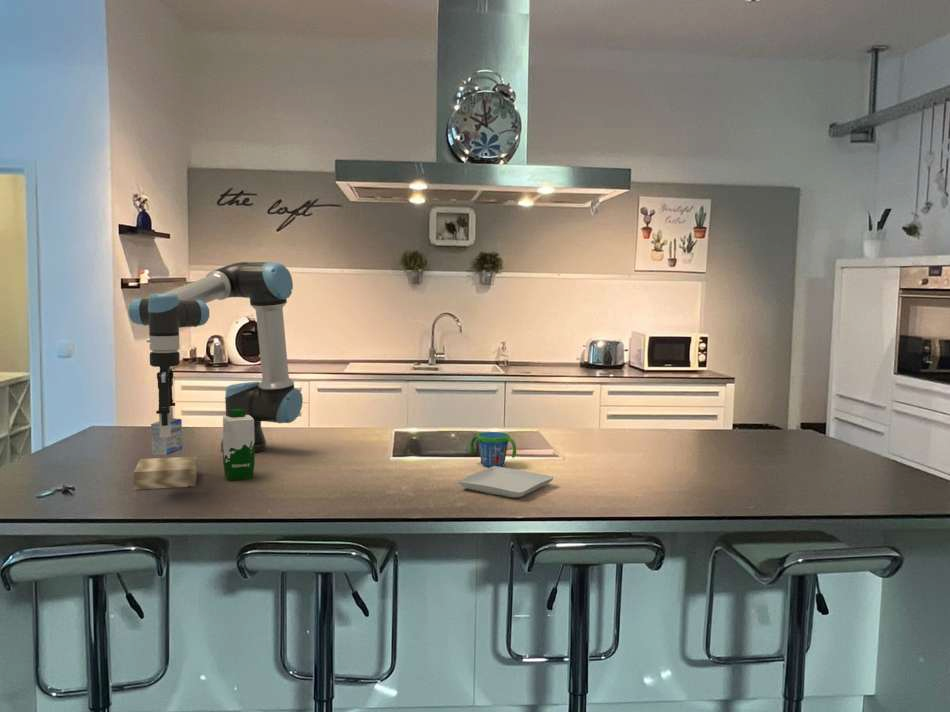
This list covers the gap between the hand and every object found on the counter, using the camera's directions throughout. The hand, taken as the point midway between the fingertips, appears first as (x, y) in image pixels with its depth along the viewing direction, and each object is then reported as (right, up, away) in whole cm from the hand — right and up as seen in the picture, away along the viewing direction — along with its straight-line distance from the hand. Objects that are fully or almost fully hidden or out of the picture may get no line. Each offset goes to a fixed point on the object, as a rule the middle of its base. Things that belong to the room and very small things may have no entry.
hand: (166, 433), depth 212 cm
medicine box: (0, -5, +1) cm, 5 cm away
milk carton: (+13, -15, +20) cm, 29 cm away
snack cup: (+90, -15, +41) cm, 100 cm away
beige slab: (-6, -15, +14) cm, 22 cm away
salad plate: (+93, -18, +14) cm, 96 cm away
